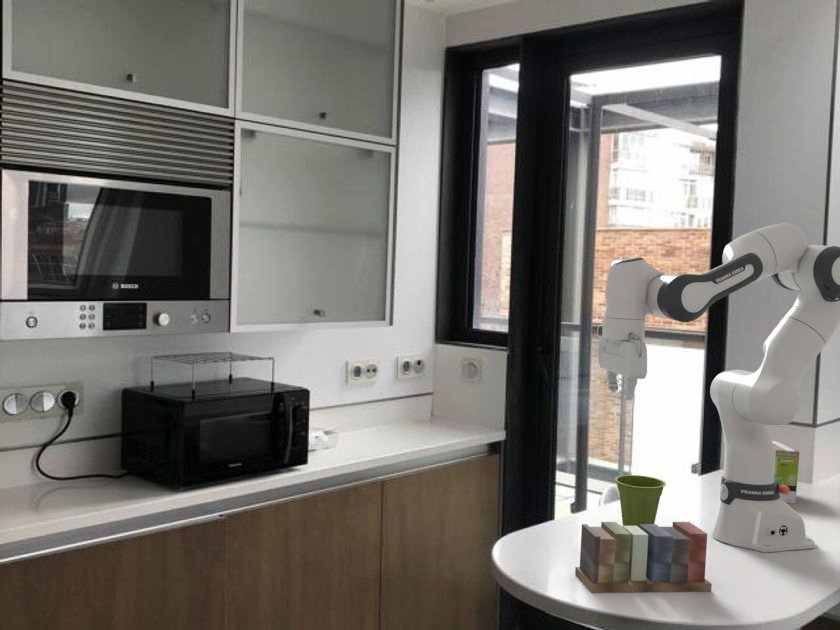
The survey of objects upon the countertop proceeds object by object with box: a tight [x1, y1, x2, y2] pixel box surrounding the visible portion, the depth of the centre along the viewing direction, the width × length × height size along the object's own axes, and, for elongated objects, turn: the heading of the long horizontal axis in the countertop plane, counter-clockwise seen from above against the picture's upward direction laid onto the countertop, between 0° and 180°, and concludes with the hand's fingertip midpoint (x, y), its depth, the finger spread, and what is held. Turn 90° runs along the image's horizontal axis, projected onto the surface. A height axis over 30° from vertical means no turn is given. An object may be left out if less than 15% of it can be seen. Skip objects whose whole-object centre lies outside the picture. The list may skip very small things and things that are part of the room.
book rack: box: [574, 521, 713, 594], centre depth 174 cm, size 24×10×11 cm, turn 98°
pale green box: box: [621, 525, 648, 581], centre depth 174 cm, size 3×6×9 cm, turn 8°
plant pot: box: [614, 474, 667, 527], centre depth 213 cm, size 12×12×11 cm
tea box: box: [771, 440, 800, 504], centre depth 249 cm, size 15×10×15 cm
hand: (620, 394), depth 195 cm, fingers open, 8 cm apart
